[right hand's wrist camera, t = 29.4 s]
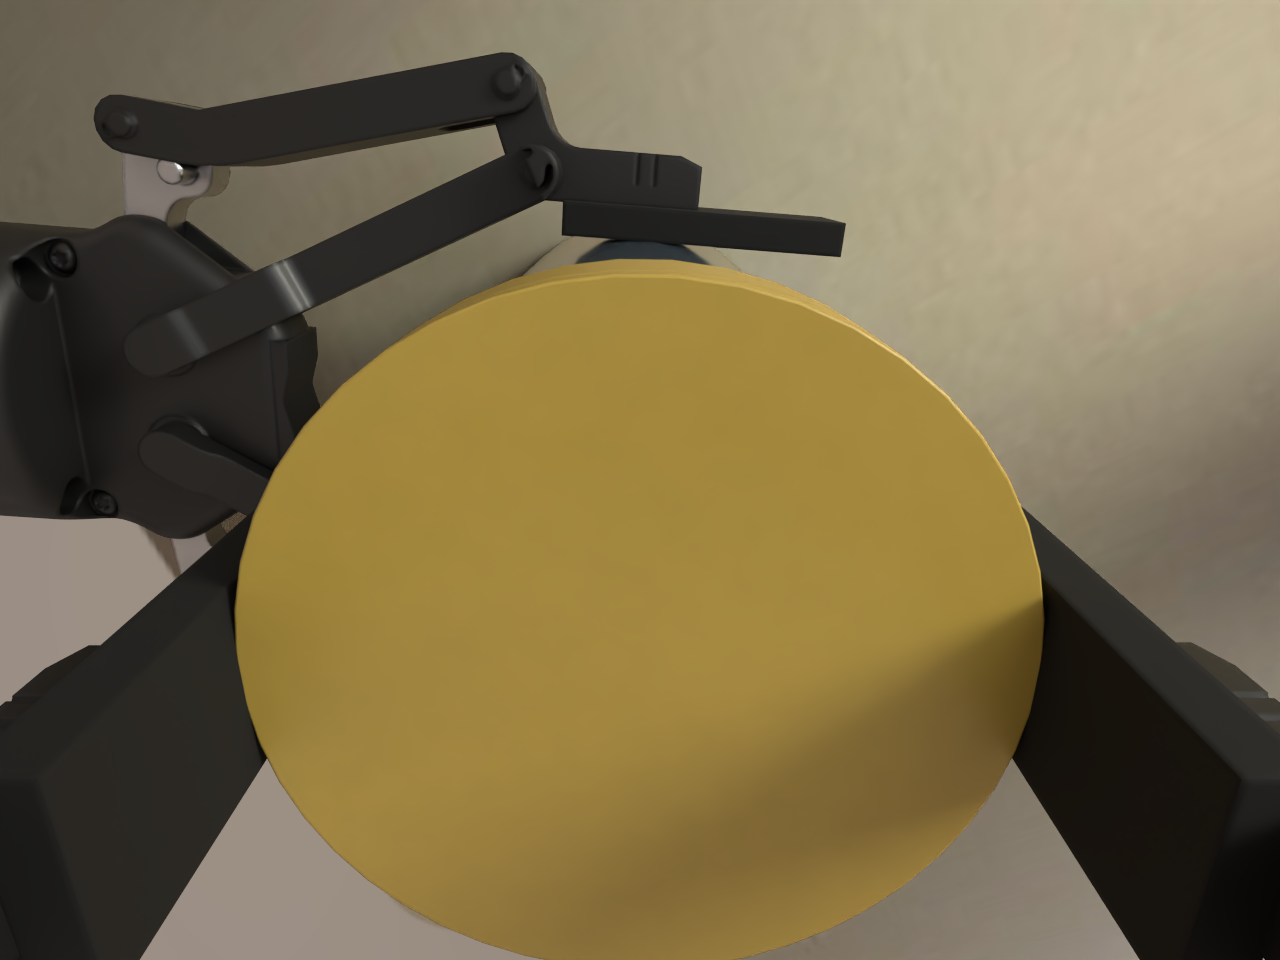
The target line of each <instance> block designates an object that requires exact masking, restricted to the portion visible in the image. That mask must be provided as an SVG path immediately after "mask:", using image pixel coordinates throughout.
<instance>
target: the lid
mask: <svg viewBox="0 0 1280 960" xmlns="http://www.w3.org/2000/svg"><path fill="white" fill-rule="evenodd" d="M234 616H235V643H236V652H237V658H238V663H239V668H240V673H241V678H242V682H243V687H244V692H245V697H246V702H247V706H248V710H249V714H250V718H251V721H252V724H253V726H254V729H255V732H256V735H257V738H258V741H259V743H260V745H261V747H262V749H263V751H264V753H265V755H266V757H267V759H268V761H269V763H270V765H271V767H272V769H273V771H274V772H275V774H276V776H277V778H278V780H279V782H280V784H281V785H282V786H283V788H284V789H285V791H286V792H287V794H288V795H289V796H290V798H291V799H292V801H293V802H294V804H295V805H296V807H297V808H298V809H299V811H300V812H301V814H302V815H303V817H304V818H305V819H306V820H307V821H308V822H309V824H310V825H311V826H312V827H313V828H314V829H315V830H316V831H317V832H318V834H319V835H320V836H321V837H322V838H323V839H324V840H325V841H326V842H327V844H328V845H329V846H330V847H331V848H332V849H333V850H334V851H335V852H336V853H337V854H338V855H339V856H341V857H342V858H343V859H344V860H345V861H346V862H347V863H349V864H350V865H351V866H352V867H353V868H354V869H355V870H357V871H358V872H359V873H360V874H361V875H362V876H363V877H365V878H366V879H367V880H368V881H370V882H371V883H373V884H374V885H376V886H377V887H378V888H380V889H381V890H383V891H384V892H386V893H387V894H388V895H390V896H391V897H393V898H394V899H396V900H397V901H399V902H400V903H401V904H403V905H405V906H407V907H408V908H410V909H412V910H414V911H416V912H418V913H419V914H421V915H423V916H425V917H427V918H429V919H430V920H432V921H434V922H436V923H438V924H440V925H441V926H444V927H446V928H448V929H451V930H453V931H456V932H458V933H460V934H463V935H465V936H468V937H470V938H472V939H475V940H477V941H480V942H482V943H485V944H488V945H492V946H495V947H498V948H502V949H505V950H508V951H511V952H515V953H518V954H521V955H525V956H529V957H534V958H539V959H544V960H735V959H741V958H746V957H749V956H753V955H756V954H760V953H763V952H767V951H770V950H774V949H777V948H781V947H784V946H788V945H790V944H793V943H795V942H798V941H800V940H803V939H806V938H808V937H811V936H813V935H816V934H818V933H821V932H823V931H826V930H828V929H830V928H832V927H834V926H836V925H838V924H840V923H842V922H844V921H846V920H848V919H850V918H852V917H854V916H855V915H857V914H859V913H861V912H863V911H865V910H867V909H869V908H870V907H872V906H873V905H875V904H876V903H878V902H879V901H881V900H882V899H884V898H885V897H887V896H888V895H890V894H891V893H893V892H894V891H896V890H897V889H899V888H901V887H902V886H904V885H905V884H906V883H907V882H909V881H910V880H911V879H912V878H913V877H915V876H916V875H917V874H918V873H919V872H921V871H922V870H923V869H924V868H925V867H926V866H928V865H929V864H930V863H931V862H932V861H934V860H935V859H936V858H937V857H938V856H939V855H940V854H941V853H942V852H943V851H944V850H945V849H946V848H947V847H948V846H949V845H950V844H951V843H952V842H953V841H954V840H955V838H956V837H957V836H958V835H959V834H960V833H961V832H962V831H963V830H964V829H965V828H966V827H967V826H968V825H969V823H970V822H971V821H972V819H973V818H974V817H975V815H976V814H977V812H978V811H979V810H980V808H981V807H982V806H983V804H984V803H985V802H986V800H987V799H988V797H989V796H990V795H991V793H992V792H993V791H994V789H995V787H996V786H997V784H998V782H999V780H1000V778H1001V777H1002V775H1003V773H1004V771H1005V769H1006V767H1007V766H1008V764H1009V762H1010V760H1011V758H1012V757H1013V755H1014V753H1015V751H1016V749H1017V746H1018V743H1019V741H1020V738H1021V736H1022V733H1023V730H1024V728H1025V725H1026V722H1027V720H1028V717H1029V714H1030V710H1031V706H1032V701H1033V696H1034V692H1035V687H1036V682H1037V677H1038V673H1039V668H1040V663H1041V657H1042V649H1043V634H1044V608H1043V596H1042V584H1041V573H1040V568H1039V564H1038V560H1037V556H1036V552H1035V548H1034V544H1033V540H1032V536H1031V532H1030V528H1029V524H1028V522H1027V519H1026V517H1025V515H1024V512H1023V510H1022V508H1021V505H1020V503H1019V501H1018V498H1017V496H1016V493H1015V491H1014V489H1013V486H1012V484H1011V482H1010V479H1009V478H1008V476H1007V474H1006V473H1005V471H1004V470H1003V468H1002V466H1001V465H1000V463H999V462H998V460H997V458H996V457H995V455H994V453H993V452H992V450H991V449H990V447H989V445H988V444H987V442H986V441H985V439H984V437H983V436H982V434H981V433H980V432H979V431H978V430H977V429H976V427H975V426H974V425H973V424H972V423H971V422H970V420H969V419H968V418H967V417H966V416H965V415H964V413H963V412H962V411H961V410H960V409H959V408H958V407H957V405H956V404H955V403H954V402H953V401H952V400H951V398H950V397H949V396H948V395H947V394H946V393H945V392H944V391H943V390H942V389H940V388H939V387H938V386H937V385H936V384H935V383H933V382H932V381H931V380H930V379H929V378H928V377H926V376H925V375H924V374H923V373H922V372H921V371H919V370H918V369H917V368H916V367H915V366H914V365H912V364H911V363H910V362H909V361H908V360H907V359H905V358H904V357H903V356H902V355H900V354H899V353H897V352H896V351H894V350H893V349H892V348H890V347H889V346H888V345H886V344H885V343H883V342H882V341H880V340H879V339H878V338H876V337H875V336H873V335H872V334H871V333H869V332H868V331H866V330H865V329H863V328H861V327H860V326H858V325H857V324H855V323H853V322H852V321H850V320H849V319H847V318H846V317H844V316H842V315H841V314H839V313H838V312H836V311H835V310H833V309H831V308H830V307H828V306H827V305H825V304H823V303H821V302H818V301H816V300H814V299H812V298H810V297H807V296H805V295H803V294H801V293H798V292H796V291H794V290H792V289H790V288H787V287H785V286H783V285H781V284H779V283H776V282H772V281H769V280H766V279H762V278H759V277H755V276H752V275H749V274H745V273H742V272H738V271H735V270H732V269H728V268H723V267H717V266H710V265H704V264H697V263H690V262H684V261H677V260H651V259H614V260H606V261H597V262H589V263H581V264H573V265H564V266H560V267H557V268H553V269H549V270H545V271H541V272H538V273H534V274H530V275H526V276H522V277H518V278H515V279H511V280H509V281H507V282H504V283H502V284H499V285H497V286H495V287H492V288H490V289H487V290H485V291H482V292H480V293H478V294H475V295H473V296H470V297H468V298H466V299H463V300H462V301H460V302H458V303H457V304H455V305H453V306H451V307H450V308H448V309H446V310H445V311H443V312H441V313H440V314H438V315H436V316H435V317H433V318H431V319H430V320H428V321H426V322H424V323H423V324H421V325H419V326H418V327H417V328H415V329H414V330H412V331H411V332H409V333H408V334H407V335H405V336H404V337H402V338H401V339H400V340H398V341H397V342H395V343H394V344H393V345H391V346H390V347H388V348H387V349H386V350H384V351H383V352H382V353H380V354H379V355H378V356H377V357H376V358H374V359H373V360H372V361H371V362H369V363H368V364H367V365H366V366H364V367H363V368H362V369H361V370H359V371H358V372H357V373H356V374H354V375H353V376H352V377H351V378H349V379H348V380H347V381H346V382H344V383H343V384H342V385H341V386H340V387H339V388H338V389H337V390H336V391H335V392H334V393H333V394H332V396H331V397H330V398H329V399H328V400H327V401H326V402H325V403H324V404H323V405H322V406H321V408H320V409H319V410H318V411H317V412H316V413H315V414H314V415H313V416H312V417H311V418H310V419H309V421H308V422H307V423H306V424H305V425H304V426H303V428H302V429H301V431H300V432H299V434H298V435H297V437H296V438H295V440H294V441H293V443H292V444H291V446H290V447H289V448H288V450H287V451H286V453H285V454H284V456H283V457H282V459H281V460H280V462H279V463H278V465H277V466H276V468H275V469H274V472H273V474H272V476H271V478H270V480H269V482H268V484H267V487H266V489H265V491H264V493H263V495H262V497H261V500H260V502H259V504H258V506H257V508H256V510H255V512H254V515H253V518H252V521H251V525H250V528H249V532H248V535H247V539H246V542H245V546H244V550H243V553H242V557H241V560H240V566H239V574H238V583H237V591H236V599H235V608H234Z"/></svg>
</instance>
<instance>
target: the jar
mask: <svg viewBox="0 0 1280 960" xmlns="http://www.w3.org/2000/svg"><path fill="white" fill-rule="evenodd" d="M614 259H651V260H677V261H684V262H690V263H697V264H704V265H710V266H717V267H723V268H728V269H732V270H735V271H738V272H742V271H741V270H740V269H739V268H738V267H737V266H735V265H734V264H733V263H732V262H731V261H730V260H729V259H728V258H727V257H726V256H724V255H723V254H722V253H721V252H720V251H719V250H717V249H716V248H714V247H706V246H693V245H680V244H667V243H656V242H642V241H629V240H616V239H603V238H591V237H578V236H573V237H571V238H569V239H567V240H566V241H564V242H562V243H560V244H559V245H557V246H556V247H555V248H553V249H552V250H551V251H549V252H548V253H547V254H545V255H544V256H543V257H542V258H541V259H540V260H539V261H538V262H536V263H535V264H534V265H533V266H532V267H531V268H530V269H529V270H528V271H527V272H526V273H525V274H524V275H522V276H526V275H530V274H534V273H538V272H541V271H545V270H549V269H553V268H557V267H560V266H564V265H573V264H581V263H589V262H597V261H606V260H614ZM742 273H743V272H742ZM522 276H521V277H522Z"/></svg>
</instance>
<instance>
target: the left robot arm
mask: <svg viewBox="0 0 1280 960" xmlns="http://www.w3.org/2000/svg"><path fill="white" fill-rule="evenodd" d="M94 122H95V126H96V130H97V132H98V134H99V135H100V137H101V139H102V140H103V141H104V142H105V143H106V144H107V145H108V146H110V147H111V148H112V149H114V150H117V151H119V152H122V165H123V191H124V216H120V217H117V218H115V219H113V220H111V221H109V222H108V223H106V224H104V225H102V226H100V227H98V228H95V229H87V228H74V227H61V226H48V225H35V224H22V223H9V222H0V515H3V516H18V517H33V518H48V519H96V518H119V519H124V520H128V521H131V522H133V523H136V524H139V525H141V526H143V527H145V528H147V529H149V530H151V531H152V532H154V533H156V534H158V535H161V536H163V537H167V538H170V539H171V543H172V546H173V550H174V554H175V558H176V562H177V565H178V569H179V573H180V575H181V574H182V573H183V572H184V571H185V570H187V569H188V568H189V567H190V566H191V565H192V564H193V563H195V562H196V561H197V560H198V559H199V558H200V557H201V556H202V555H204V554H205V553H206V552H207V551H208V550H209V549H210V548H212V547H213V546H214V545H215V544H216V543H217V542H218V541H219V540H221V539H222V538H223V537H224V536H225V535H226V534H227V533H226V531H225V530H224V529H223V527H222V524H221V522H223V521H224V520H226V519H228V518H229V517H231V516H232V515H234V514H235V513H237V512H241V513H243V514H244V515H246V516H248V515H249V514H250V513H251V512H252V511H253V510H255V509H256V508H257V506H258V504H259V502H260V500H261V497H262V495H263V493H264V491H265V489H266V487H267V484H268V482H269V480H270V478H271V476H272V474H273V472H274V469H275V468H276V466H277V465H278V463H279V462H280V460H281V459H282V457H283V456H284V454H285V453H286V451H287V450H288V448H289V447H290V446H291V444H292V443H293V441H294V440H295V438H296V437H297V435H298V434H299V432H300V431H301V429H302V428H303V426H304V425H305V424H306V423H307V422H308V421H309V419H310V418H311V417H312V416H313V415H314V414H315V413H316V412H317V411H318V410H319V409H320V405H319V402H318V399H317V396H316V393H315V390H314V387H313V383H312V381H313V376H314V371H315V366H316V361H317V357H318V350H317V335H316V327H308V325H307V322H306V320H305V318H304V316H303V314H302V313H303V312H305V311H308V310H310V309H312V308H314V307H316V306H318V305H321V304H323V303H325V302H327V301H329V300H331V299H333V298H336V297H338V296H340V295H342V294H344V293H346V292H348V291H350V290H352V289H355V288H357V287H359V286H361V285H363V284H365V283H367V282H370V281H372V280H374V279H376V278H378V277H380V276H383V275H385V274H387V273H389V272H391V271H393V270H396V269H398V268H400V267H402V266H404V265H406V264H409V263H411V262H413V261H415V260H417V259H419V258H421V257H424V256H426V255H428V254H430V253H432V252H434V251H437V250H439V249H441V248H443V247H445V246H447V245H450V244H452V243H454V242H456V241H458V240H460V239H463V238H465V237H467V236H469V235H471V234H473V233H475V232H478V231H480V230H482V229H484V228H486V227H488V226H491V225H493V224H495V223H497V222H499V221H501V220H504V219H506V218H508V217H510V216H512V215H514V214H516V213H519V212H521V211H523V210H525V209H527V208H529V207H532V206H534V205H536V204H538V203H540V202H542V201H545V200H548V201H560V202H563V218H562V235H565V236H578V237H591V238H603V239H616V240H629V241H642V242H656V243H667V244H680V245H693V246H706V247H718V248H731V249H744V250H757V251H770V252H782V253H795V254H808V255H821V256H834V257H841V251H842V244H843V238H844V232H845V226H846V223H842V222H838V221H834V220H830V219H826V218H823V217H814V216H801V215H789V214H776V213H764V212H751V211H739V210H726V209H713V208H701V207H698V203H699V193H700V182H701V172H702V167H701V166H699V165H697V164H695V163H693V162H691V161H689V160H687V159H686V158H684V157H682V156H672V155H660V154H648V153H635V152H623V151H611V150H599V149H586V148H578V147H574V146H572V145H570V144H569V143H568V142H567V141H565V140H564V139H563V138H562V136H561V135H560V133H559V132H558V130H557V128H556V125H555V122H554V119H553V115H552V112H551V109H550V105H549V102H548V98H547V95H546V87H545V84H544V82H543V79H542V77H541V76H540V75H539V74H538V73H537V72H536V70H535V69H534V68H533V67H532V66H531V65H530V64H529V63H527V62H526V61H525V60H524V59H523V58H522V57H520V56H518V55H516V54H514V53H504V52H501V53H496V54H491V55H485V56H480V57H475V58H469V59H464V60H459V61H454V62H448V63H443V64H438V65H433V66H427V67H422V68H417V69H411V70H406V71H401V72H396V73H390V74H385V75H380V76H375V77H369V78H364V79H359V80H353V81H348V82H343V83H338V84H332V85H327V86H322V87H317V88H311V89H306V90H301V91H295V92H290V93H285V94H280V95H274V96H269V97H264V98H259V99H253V100H248V101H243V102H237V103H232V104H227V105H222V106H216V107H211V108H200V107H195V106H190V105H185V104H180V103H174V102H167V101H160V100H153V99H146V98H139V97H132V96H125V95H109V96H107V97H105V98H103V99H101V100H100V102H99V103H98V105H97V106H96V108H95V113H94ZM491 125H496V127H497V130H498V134H499V137H500V140H501V143H502V146H503V149H504V153H505V155H504V156H502V157H500V158H497V159H495V160H493V161H491V162H489V163H487V164H485V165H483V166H481V167H478V168H476V169H474V170H472V171H470V172H468V173H466V174H464V175H462V176H460V177H457V178H455V179H453V180H451V181H449V182H447V183H445V184H443V185H441V186H438V187H436V188H434V189H432V190H430V191H428V192H426V193H424V194H422V195H420V196H417V197H415V198H413V199H411V200H409V201H407V202H405V203H403V204H401V205H399V206H396V207H394V208H392V209H390V210H388V211H386V212H384V213H382V214H380V215H377V216H375V217H373V218H371V219H369V220H367V221H365V222H363V223H361V224H359V225H356V226H354V227H352V228H350V229H348V230H346V231H344V232H342V233H340V234H337V235H335V236H333V237H331V238H329V239H327V240H325V241H323V242H321V243H319V244H316V245H314V246H312V247H310V248H308V249H306V250H304V251H302V252H300V253H297V254H295V255H293V256H291V257H289V258H287V259H284V260H282V261H279V262H276V263H274V264H271V265H269V266H267V267H264V268H262V269H260V270H258V271H256V272H254V271H253V270H252V269H250V268H249V267H248V266H246V265H245V264H244V263H243V262H241V261H240V260H239V259H237V258H236V257H235V256H233V255H232V254H231V253H229V252H228V251H227V250H225V249H224V248H223V247H221V246H220V245H219V244H217V243H216V242H215V241H214V240H212V239H211V238H210V237H208V236H207V235H206V234H204V233H203V232H202V231H200V230H199V229H198V228H196V227H195V226H194V225H192V224H191V223H189V222H188V221H186V212H187V209H188V207H189V205H190V204H191V203H192V202H193V201H194V200H196V199H198V198H200V197H209V196H216V195H218V194H220V193H222V192H223V191H224V190H225V189H226V187H227V185H228V183H229V177H230V166H270V165H279V164H285V163H291V162H296V161H301V160H307V159H312V158H318V157H323V156H329V155H334V154H339V153H345V152H350V151H356V150H361V149H366V148H372V147H377V146H383V145H388V144H393V143H399V142H404V141H410V140H415V139H421V138H426V137H431V136H437V135H442V134H448V133H453V132H458V131H464V130H469V129H475V128H480V127H486V126H491Z"/></svg>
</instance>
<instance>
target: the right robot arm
mask: <svg viewBox="0 0 1280 960" xmlns="http://www.w3.org/2000/svg"><path fill="white" fill-rule="evenodd" d="M1021 508H1022V510H1023V512H1024V515H1025V517H1026V519H1027V522H1028V524H1029V528H1030V532H1031V536H1032V540H1033V544H1034V548H1035V552H1036V556H1037V560H1038V564H1039V568H1040V573H1041V584H1042V596H1043V608H1044V634H1043V649H1042V657H1041V663H1040V668H1039V673H1038V677H1037V682H1036V687H1035V692H1034V696H1033V701H1032V706H1031V710H1030V714H1029V717H1028V720H1027V722H1026V725H1025V728H1024V730H1023V733H1022V736H1021V738H1020V741H1019V743H1018V746H1017V749H1016V751H1015V753H1014V755H1013V757H1012V759H1013V760H1014V762H1015V763H1016V765H1017V766H1018V768H1019V770H1020V771H1021V773H1022V774H1023V776H1024V777H1025V779H1026V781H1027V782H1028V784H1029V785H1030V787H1031V789H1032V790H1033V792H1034V793H1035V795H1036V796H1037V798H1038V800H1039V801H1040V803H1041V804H1042V806H1043V807H1044V809H1045V811H1046V812H1047V814H1048V815H1049V817H1050V819H1051V820H1052V822H1053V823H1054V825H1055V826H1056V828H1057V830H1058V831H1059V833H1060V834H1061V836H1062V838H1063V839H1064V841H1065V842H1066V844H1067V845H1068V847H1069V849H1070V850H1071V852H1072V853H1073V855H1074V856H1075V858H1076V860H1077V861H1078V863H1079V864H1080V866H1081V868H1082V869H1083V871H1084V872H1085V874H1086V875H1087V877H1088V879H1089V880H1090V882H1091V883H1092V885H1093V886H1094V888H1095V890H1096V891H1097V893H1098V894H1099V896H1100V898H1101V899H1102V901H1103V902H1104V904H1105V905H1106V907H1107V909H1108V910H1109V912H1110V913H1111V915H1112V917H1113V918H1114V920H1115V921H1116V923H1117V924H1118V926H1119V928H1120V929H1121V931H1122V932H1123V934H1124V935H1125V937H1126V939H1127V940H1128V942H1129V943H1130V945H1131V947H1132V948H1133V950H1134V951H1135V953H1136V954H1137V956H1138V958H1139V959H1140V960H1262V959H1263V958H1264V959H1265V960H1280V702H1278V701H1277V700H1276V699H1275V698H1269V697H1268V692H1266V691H1265V690H1264V689H1263V688H1262V687H1260V686H1259V685H1258V684H1257V683H1255V682H1254V681H1253V680H1252V679H1251V678H1249V677H1248V676H1247V675H1246V674H1245V673H1243V672H1242V671H1241V670H1240V669H1239V668H1237V667H1236V666H1235V665H1233V664H1231V663H1229V662H1227V661H1225V660H1224V659H1222V658H1220V657H1218V656H1216V655H1214V654H1212V653H1210V652H1208V651H1206V650H1205V649H1203V648H1201V647H1199V646H1197V645H1195V644H1193V643H1176V642H1174V641H1173V640H1172V639H1171V638H1170V637H1169V636H1168V635H1167V634H1165V633H1164V632H1163V631H1162V630H1161V629H1160V628H1159V627H1157V626H1156V625H1155V624H1154V623H1153V622H1152V621H1151V620H1150V619H1148V618H1147V617H1146V616H1145V615H1144V614H1143V613H1142V612H1140V611H1139V610H1138V609H1137V608H1136V607H1135V606H1134V605H1133V604H1131V603H1130V602H1129V601H1128V600H1127V599H1126V598H1125V597H1123V596H1122V595H1121V594H1120V593H1119V592H1118V591H1117V590H1116V589H1114V588H1113V587H1112V586H1111V585H1110V584H1109V583H1108V582H1106V581H1105V580H1104V579H1103V578H1102V577H1101V576H1100V575H1099V574H1097V573H1096V572H1095V571H1094V570H1093V569H1092V568H1091V567H1089V566H1088V565H1087V564H1086V563H1085V562H1084V561H1083V560H1082V559H1080V558H1079V557H1078V556H1077V555H1076V554H1075V553H1074V552H1072V551H1071V550H1070V549H1069V548H1068V547H1067V546H1066V545H1065V544H1063V543H1062V542H1061V541H1060V540H1059V539H1058V538H1057V537H1055V536H1054V535H1053V534H1052V533H1051V532H1050V531H1049V530H1047V529H1046V528H1045V527H1044V526H1043V525H1042V524H1041V523H1040V522H1038V521H1037V520H1036V519H1035V518H1034V517H1033V516H1032V515H1030V514H1029V513H1028V512H1027V511H1026V510H1025V509H1024V508H1023V507H1021ZM255 510H256V509H255ZM255 510H253V511H252V512H251V513H250V514H249V515H248V516H247V517H246V518H244V519H243V520H242V521H241V522H240V523H239V524H238V525H236V526H235V527H234V528H233V529H232V530H231V531H230V532H229V533H227V534H226V535H225V536H224V537H223V538H222V539H221V540H219V541H218V542H217V543H216V544H215V545H214V546H213V547H212V548H210V549H209V550H208V551H207V552H206V553H205V554H204V555H202V556H201V557H200V558H199V559H198V560H197V561H196V562H195V563H193V564H192V565H191V566H190V567H189V568H188V569H187V570H185V571H184V572H183V573H182V574H181V575H180V576H179V577H178V578H176V579H175V580H174V581H173V582H172V583H171V584H170V585H169V586H167V587H166V588H165V589H164V590H163V591H162V592H161V593H159V594H158V595H157V596H156V597H155V598H154V599H153V600H151V601H150V602H149V603H148V604H147V605H146V606H145V607H143V608H142V609H141V610H140V611H139V612H138V613H137V614H136V615H134V616H133V617H132V618H131V619H130V620H129V621H128V622H126V623H125V624H124V625H123V626H122V627H121V628H120V629H119V630H117V631H116V632H115V633H114V634H113V635H112V636H111V637H109V638H108V639H107V640H106V641H105V642H104V643H103V644H102V645H89V646H87V647H85V648H83V649H81V650H79V651H77V652H75V653H74V654H72V655H70V656H68V657H66V658H64V659H62V660H60V661H58V662H57V663H55V664H53V665H51V666H49V667H47V668H45V669H44V670H43V671H42V672H40V673H39V674H38V675H37V676H36V677H34V678H33V679H32V680H31V681H30V682H28V683H27V684H26V685H25V686H24V687H22V688H21V689H20V690H19V691H18V692H17V693H15V694H14V695H13V696H12V701H7V702H5V703H3V704H2V705H1V706H0V960H140V958H141V957H142V955H143V954H144V952H145V950H146V949H147V947H148V946H149V944H150V943H151V941H152V939H153V938H154V936H155V935H156V933H157V931H158V930H159V928H160V927H161V925H162V924H163V922H164V920H165V919H166V917H167V916H168V914H169V913H170V911H171V909H172V908H173V906H174V905H175V903H176V901H177V900H178V898H179V897H180V895H181V894H182V892H183V890H184V889H185V887H186V886H187V884H188V882H189V881H190V879H191V878H192V876H193V875H194V873H195V871H196V870H197V868H198V867H199V865H200V863H201V862H202V860H203V859H204V857H205V856H206V854H207V852H208V851H209V849H210V848H211V846H212V844H213V843H214V841H215V840H216V838H217V837H218V835H219V834H220V832H221V830H222V829H223V827H224V826H225V824H226V822H227V821H228V819H229V818H230V816H231V814H232V813H233V811H234V810H235V808H236V807H237V805H238V803H239V802H240V800H241V799H242V797H243V796H244V794H245V792H246V791H247V789H248V788H249V786H250V785H251V783H252V781H253V780H254V778H255V777H256V775H257V773H258V772H259V770H260V769H261V767H262V766H263V764H264V762H265V761H266V759H267V757H266V755H265V753H264V751H263V749H262V747H261V745H260V743H259V741H258V738H257V735H256V732H255V729H254V726H253V724H252V721H251V718H250V714H249V710H248V706H247V702H246V697H245V692H244V687H243V682H242V678H241V673H240V668H239V663H238V658H237V652H236V643H235V616H234V608H235V599H236V591H237V583H238V574H239V566H240V560H241V557H242V553H243V550H244V546H245V542H246V539H247V535H248V532H249V528H250V525H251V521H252V518H253V515H254V512H255Z"/></svg>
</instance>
